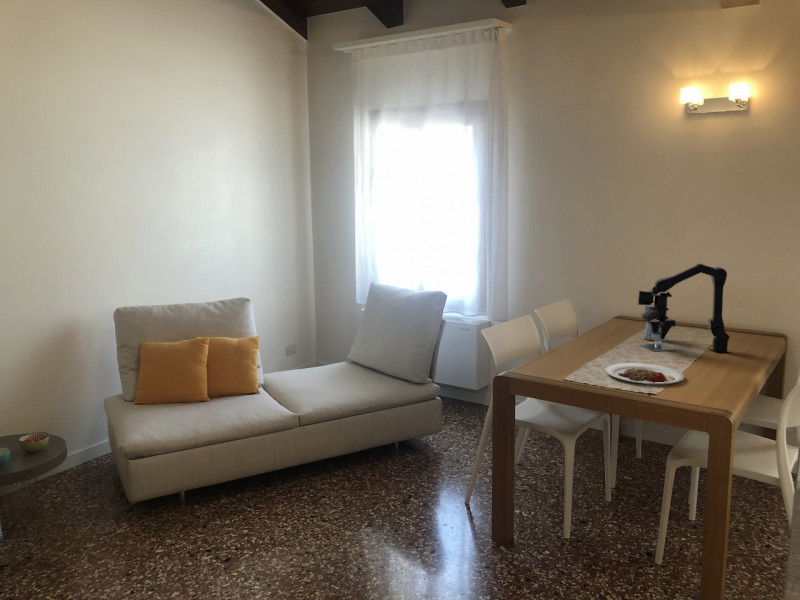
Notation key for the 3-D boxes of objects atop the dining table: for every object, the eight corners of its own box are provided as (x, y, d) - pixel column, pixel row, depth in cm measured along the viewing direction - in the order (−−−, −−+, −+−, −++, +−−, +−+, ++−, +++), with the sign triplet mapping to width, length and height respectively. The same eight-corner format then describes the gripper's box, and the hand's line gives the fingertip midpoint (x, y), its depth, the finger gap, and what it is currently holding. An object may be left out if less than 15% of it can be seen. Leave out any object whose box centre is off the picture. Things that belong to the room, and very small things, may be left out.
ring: (668, 340, 306) (668, 334, 305) (655, 341, 305) (656, 335, 304) (661, 337, 312) (661, 331, 311) (649, 338, 311) (649, 332, 310)
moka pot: (658, 336, 335) (660, 298, 332) (667, 343, 320) (670, 303, 316) (639, 336, 336) (641, 298, 333) (648, 342, 321) (650, 303, 317)
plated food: (621, 363, 281) (621, 356, 281) (693, 375, 263) (694, 367, 262) (594, 378, 258) (594, 370, 258) (670, 392, 240) (671, 383, 239)
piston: (676, 350, 304) (677, 340, 303) (652, 351, 302) (653, 341, 301) (662, 344, 316) (663, 335, 315) (639, 345, 314) (640, 335, 313)
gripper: (635, 303, 314) (633, 334, 316) (655, 309, 295) (653, 342, 298) (656, 302, 315) (654, 333, 318) (677, 308, 297) (675, 341, 299)
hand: (658, 337), depth 308 cm, fingers closed on ring, 6 cm apart
